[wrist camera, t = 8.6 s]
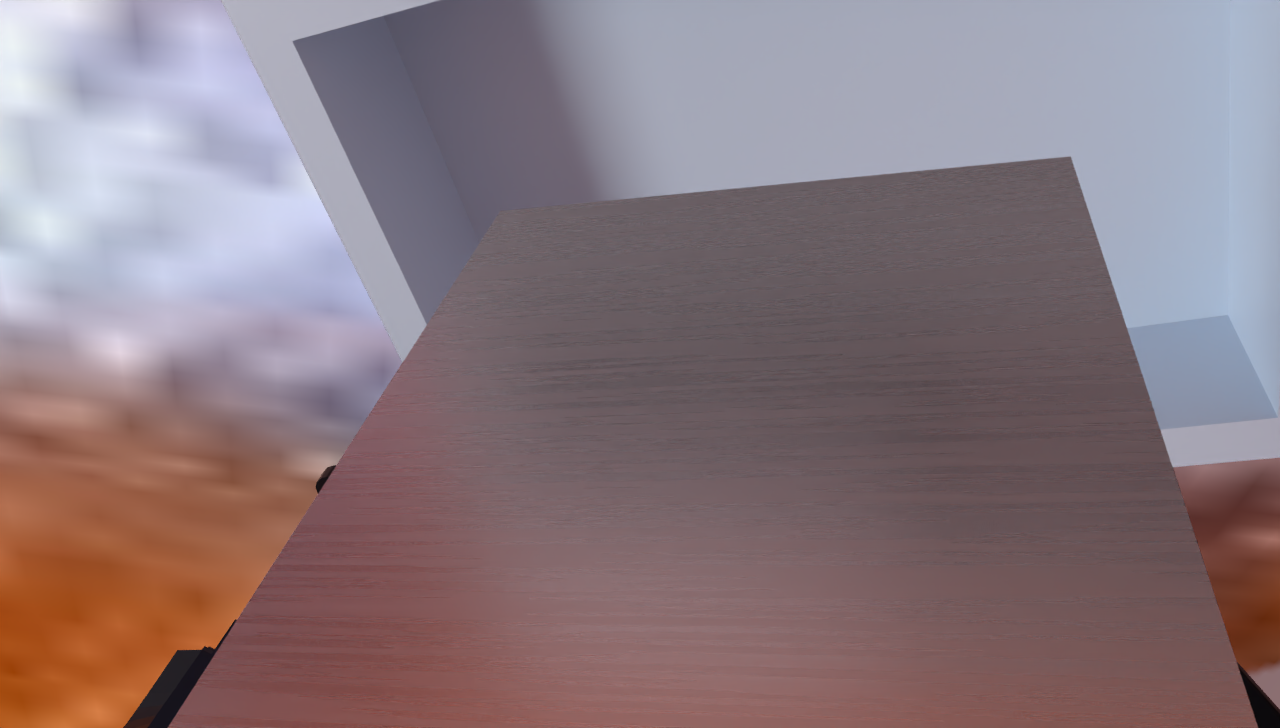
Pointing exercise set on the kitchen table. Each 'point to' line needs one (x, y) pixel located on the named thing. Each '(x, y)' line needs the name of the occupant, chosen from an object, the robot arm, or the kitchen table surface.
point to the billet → (754, 484)
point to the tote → (814, 140)
